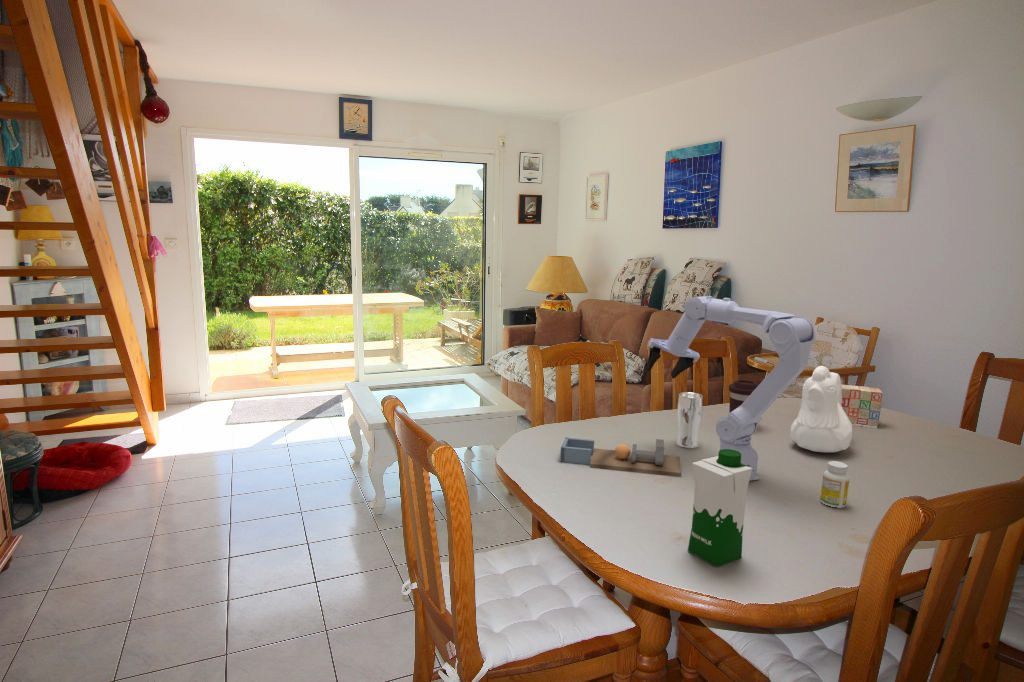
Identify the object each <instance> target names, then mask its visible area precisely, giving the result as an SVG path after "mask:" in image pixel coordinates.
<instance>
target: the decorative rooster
mask: <svg viewBox="0 0 1024 682" xmlns="http://www.w3.org/2000/svg"><path fill="white" fill-rule="evenodd" d="M841 380H842V379H841V377H840V374H839V373H837V372H834V371H833V372H831V371H830V370H829V368H827V366H824V365H818V366H816V367H815V369H814V370H813V371H812V375H811V376H809V377H808V378H806V380H805V381H804V384H803V386H802V394H801V404H800V405H801V406H800V407H799V411H798V414H797V417H796V418H795V419H794V420H793V422H792V424H791V426H790V432H789V434H790V435H789V437H790V440H791V441H793V442H794V443H796V445H797V446H798V447H800V448H802V449H806V450H808V451H811V452H815V453H817V452H818V453H838V452H840V451H845V450H847V449H848V448H849V446H850V444H851V442H852V440H853V426H852V424H851V422H850V420H849V419H848V417H847V415H846V413H845V412H844V410H843V408H842V406H841V403H842V393H841V392H842V385H843V384H842V381H841Z"/></svg>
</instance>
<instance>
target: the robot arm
mask: <svg viewBox="0 0 1024 682" xmlns="http://www.w3.org/2000/svg"><path fill="white" fill-rule="evenodd" d="M683 310H684V312H683V314H682V315H681V317H680V319H679V320H678V322H677V324H676V326H675V327H674V329H672V330H673V331H672V332H671V333H670V335H669V337H668V339H660V338H659V339H658V338H652V337H651V338H650V339H649V341H648V342H647V344H648V347H649V356H648V360H647V364H646V371H648V372H650V371H651V370H652V369H653V367H654V366H655V363H656V362H657V361H658V360H659V359H660V358H661V356H662V355H661V351H663V352H667V353H669V354H671V355H673V356H677V357H679V358H678V360H677V362H676V363H675V365H674V366H673V369H672V370H671V372H670V376H671V379H676V378H677V377H678V376H679V375H680V374H681V373H682V372H684V371H686V370H687V369H689V368H692V367H693V366H694V362H696V363H697V362H698V360H700V358H701V356H700V354H699V352H697V351H694V350H693V349H690V348H689V347H690V346H691V343H692V342H693V341H694V339H695V337H696V336H697V334H698V332H699V331H700V329H702V326H703V324H704V323H705V321H706V320H707V321H711V322H712V321H713V322H717V323H722V324H729V325H730V324H733V323H734V322H736V321H740V322H745V323H750V324H754V325H757V326H758V325H759V326H762V329H763V331H764V333H765V334H768V337H769V340H770V341H771V344H772V346H773V347H774V349H775V351H776V353H777V355H778V357H779V362H778V363H777V364H776V366H775V367H773V369H772V370H771V371H770V372H769V373H768V374H767V376H766V377H765V378H764V379H763V380H762V381H761V382H760V383H759V384H758V387H757V388H756V389H755V390H754V391H753V392H752V393H751V394H750V396H749V397H748V398H747V399H746V400H745V401H744V402H743V403H742V405H741V406H739V407H738V408H736V409H735V410H733V411H732V412H730V413H729V414H727V415H725V416H723V417H721V418H719V419H718V420H717V422H716V425H715V432H716V435H717V436H718V437H719V442H720V443H719V450H722V449H731V450H735V451H738V452H740V453H741V463H742V464H744V465H746V466H747V467H750V468H752V472H751V476H750V480H749V482H751V481H758V480H760V478H759V476H757V471H758V470H757V469H758V464H759V463H758V462H759V461H758V460H759V456H758V452H757V450H756V449H754V448H753V446H752V443H751V440H752V435H755V433H756V431H757V429H758V425H759V423H761V421H762V415H763V414H764V413H765V412H766V411H767V410H768V409H769V408H770V407H771V405H773V404H774V402H775V401H776V400H778V398H779V397H780V396H781V395H782V394H783V393H784V392H785V391H786V390H787V389H788V387H789V386H790V385H792V384H793V382H794V381H795V380H796V379H797V378H798V377H799V376H800V375H801V373H802V372H804V370H805V369H806V368H807V366H808V363H809V358H810V354H811V349H812V345H813V344H814V342H815V341H816V338H817V336H816V332H815V328H814V325H813V323H812V321H811V320H810V319H809V318H807V317H805V316H797V317H796V315H795V314H793V313H787V312H782V311H776V310H766V309H760V308H759V309H757V308H748V307H740V306H739V304H738V303H737V302H736V301H733V300H732V299H731V298H729V297H723V298H722V299H720V298H714V297H713V296H711V295H707V296H706V295H704V296H693V297H690V298H688V299H687V300H686V301H685V303H684V305H683Z"/></svg>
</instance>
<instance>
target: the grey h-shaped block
mask: <svg viewBox="0 0 1024 682" xmlns="http://www.w3.org/2000/svg"><path fill="white" fill-rule="evenodd" d="M637 445H638V444H635V443H632V447H631V448H632V450H631V452H632V462H631V463H635V462H636V461H641V462H651V463H655V465H661V466H663V458H664V455H665V440H664V439H660V438H659V439H658V438H656V439H655V451H651V450H641V449H637V447H638V446H637Z"/></svg>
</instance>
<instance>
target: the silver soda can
mask: <svg viewBox="0 0 1024 682" xmlns="http://www.w3.org/2000/svg"><path fill="white" fill-rule="evenodd" d="M703 397H704V396H703V395H702V394H701V393H697V392H694V391H692V392H691V391H683V392H680V393H678V399H677V411H676V412H677V415H676V416H677V423H678V424H677V425H678V436H677V439H676V445H677V446H678V447H680V448H683V447H684V449H696V447H697V448H698V447H699V439H698V438H699V437H698V436H699V435H698V433H699V428H700V424H701V422H702V421H701V420H702V418H703V417H702V416H703V411H704V409H703V407H704V406H703V405H704V401H703V400H704V399H703Z"/></svg>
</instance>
